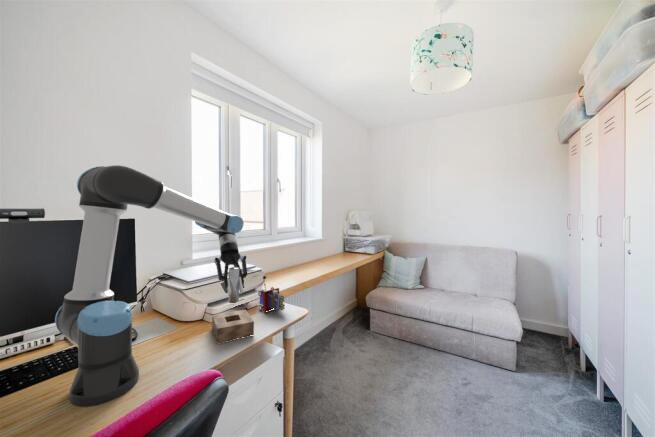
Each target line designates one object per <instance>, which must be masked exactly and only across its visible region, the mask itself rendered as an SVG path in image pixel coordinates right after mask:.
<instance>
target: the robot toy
mask: <svg viewBox="0 0 655 437" xmlns="http://www.w3.org/2000/svg"><path fill="white" fill-rule="evenodd" d="M262 279H263V280H264V282H266V280H265V279H267V275H263V276H262ZM263 286H264V288H265V289H264V288H262V289H260V290H261V291H260V290H258V292H257V295H258V296H259V305H258V310H259V311H263V312H264V314H267V313H266V311H269V310H271V309H273V308H274V309H277V310H280V311H284V310H285V309H286V304H285V303H284V302H285V300H286V297H285V296H284V294H282V293H280V288H279V287H278V288H275V287H273V286H272V287H271V288H270V289H269V290H267V289H266V283H264V284H263Z"/></svg>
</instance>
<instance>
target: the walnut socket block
mask: <svg viewBox="0 0 655 437" xmlns="http://www.w3.org/2000/svg"><path fill="white" fill-rule="evenodd" d="M211 316H212V317H211V329H212V332H213V336H214V339H215V343H216V344H217V345H219V344H218V343H220V344H224V343H227V342H226V341H229V342H231V341H230V340H233V339H237V338H242V337H247V336H250V335H254V333H255V332H254V331H255V328H254V326H255V322H254V319H253V318H252V317H251V315H250V314H249V312H248V311H247V309H240V310H234V311H227V312H221V313H217V314H212V315H211ZM247 338H248V337H247ZM242 339H243V338H242ZM233 341H234V340H233ZM223 342H224V343H223Z"/></svg>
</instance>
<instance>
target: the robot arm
mask: <svg viewBox="0 0 655 437" xmlns="http://www.w3.org/2000/svg"><path fill="white" fill-rule="evenodd" d="M76 187H77V191H78V194H79V195H80V199H79V204H78V206H79V207H80V209H82V210H83V212H84V215H83V223H82V228H81V235H80V240H79V241H80V242H79V247H78V253H77V259H76V266H75V272H74V279H73V283H72V290H71V291H69V292H68V293H66V294H65V295H64V298H63V302H62V305H61V306H60V307H59V308H58V310H57V312H56V314H55V317H54V322H55V323H54V324H55V326H56V329H57V331H58V332H59V333H60V334H61V335H63V336H65V337H66V338H67V339H69V340H71V341H72V342H73V343H74V344H76V345H77V348H78V349H77V350H78V352H77V355H78V356H77V358H78V359H77V360H78V368H77V371H76V373H75V376H74V379H73V380H72V383H71V386H70V389H69V402H70V403H71V404H72V405H74V406H77V407H88V406H89V407H91V406H96V405H99V404H104V403H106V402H109V401H111V400H114V399H115V398H116V399H117V398H118V397H120V396H123V395H124V394H125V393H127V392H129V391H130V390H131V389H133V387H134V386H136V384H137V383H138V381H139V377H140V369H139V367H138V365H137V362H136V360H135V357H134V356H133V313H132V312H133V310H132V307H131V305H130V304H129V303H127V302H125V301H121V300H116V301H115V300H114V298H115V292H114V291H113V290H111V289H110V284H111V278H112V277H111V276H112V271H113V265H114V257H115V250H116V244H117V239H118V238H117V237H118V232H119V224H120V219H121V218H120V217H121V215H122V214H124V213H126V212H127V209H128V206H129V205H131V206H132V205H133V206H138V207H141V208H145V209H148V210H151V209H153V208H154V209H158V210H161V211H162V212H163V211H164V212H167V213H170V214H172V215H176V216H177V217H182V218H184V219H188V220H191V221H193V222H194V224H195V225H197V226H199V227H200V229H204V230H206V231H208V232H211V233H213V234H215V235H217V236H218V241H219V249H220V256H219V257H215V258H214V262H213V263H214V264H215V266H216V271H217V272H216V273H217V277H218V281H222V282H223V285H224V289H225V288H226V289H227V296H228V297H229V296H230V295H231V287H230V279H229V277H228V276H229V266H230V265H231V266H232V265H233V267H238V268H239V290H240V294H242V293H243V285H244V279H245V278H246V276H248V268H247V262H246V260H247V255H244V256H243V255H241V254H240V253H239V247H238V241H237V236H236V234H238V233H240V232H241V231H242V230H243V227H244V225H245V224H244V219H243V218H242V217H241V216H240V215H238V214H237V215H236V214H230V213H228V212H225V211H223V210H221V209H219V208H216V207H214V206H211V205H210V204H207V203H205V202H202V201H200V200H197V199H195V198H192V197H190V196H188V195H186V194H184V193H181V192H178V191H176V190H174V189H171V188H169V187H167V186H165V184H164V182H162V181H161V180H158V179H156V178H154V177H153V176H152V177H151V176H149V175H147V174H145V173H143V172H141V171H138V170H136V169H134V168H131V167H127V166H125V165H117V164H116V165H108V166H107V165H106V166H104V165H102V166H95V167H92V168H89V169H87V170H85V171H84V172H83V173H82V174H80V175H79V177H78V179H77V182H76ZM239 260H240V261H241V266H240V264H239ZM221 262H222V263H224V271H223V270H222V265H221ZM241 268H242V269H241ZM223 272H224V273H223Z"/></svg>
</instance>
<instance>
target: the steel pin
mask: <svg viewBox="0 0 655 437" xmlns="http://www.w3.org/2000/svg"><path fill="white" fill-rule="evenodd" d="M228 278H229V279H230V287H231V295H230V296H228V303H230V304H231V303H236V302H238V301H239V268H238V267H234V266H233V267H228Z"/></svg>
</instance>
